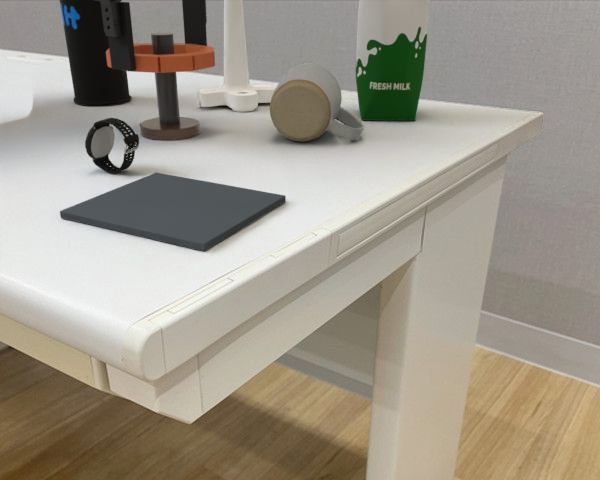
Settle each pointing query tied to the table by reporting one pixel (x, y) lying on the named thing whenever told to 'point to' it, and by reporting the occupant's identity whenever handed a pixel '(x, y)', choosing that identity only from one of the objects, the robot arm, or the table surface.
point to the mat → (175, 210)
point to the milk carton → (390, 57)
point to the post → (167, 101)
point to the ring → (171, 58)
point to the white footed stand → (235, 68)
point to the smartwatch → (110, 144)
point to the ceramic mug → (311, 106)
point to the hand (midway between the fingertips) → (162, 62)
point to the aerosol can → (91, 56)
